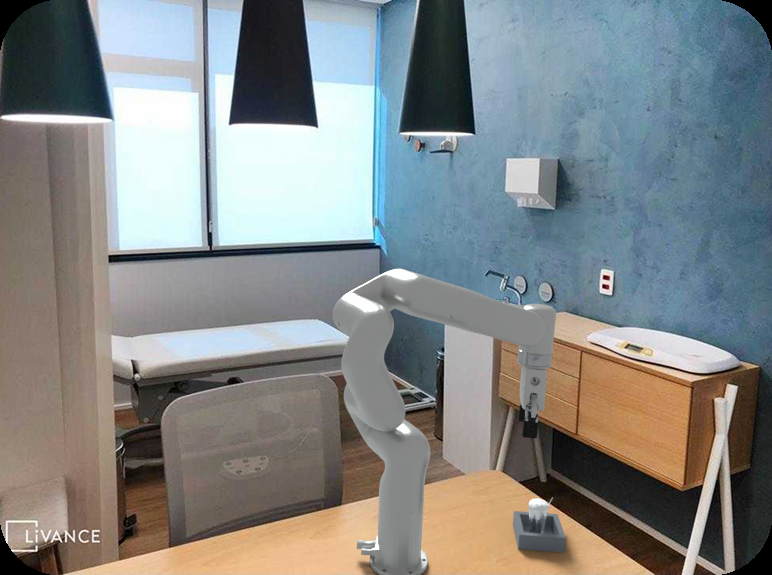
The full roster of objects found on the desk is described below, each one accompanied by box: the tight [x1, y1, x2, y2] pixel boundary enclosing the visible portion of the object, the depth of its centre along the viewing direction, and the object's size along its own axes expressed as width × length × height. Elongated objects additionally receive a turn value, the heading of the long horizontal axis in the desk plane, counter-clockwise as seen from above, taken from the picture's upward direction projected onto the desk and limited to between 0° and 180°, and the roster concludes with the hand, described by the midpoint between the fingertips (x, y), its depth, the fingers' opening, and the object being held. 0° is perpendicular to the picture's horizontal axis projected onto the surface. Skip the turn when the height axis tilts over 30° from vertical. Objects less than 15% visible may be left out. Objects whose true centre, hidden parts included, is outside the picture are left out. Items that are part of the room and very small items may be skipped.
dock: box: [512, 510, 567, 554], centre depth 154 cm, size 10×10×4 cm
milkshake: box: [528, 496, 554, 534], centre depth 153 cm, size 4×5×10 cm
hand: (527, 429), depth 153 cm, fingers open, 9 cm apart
